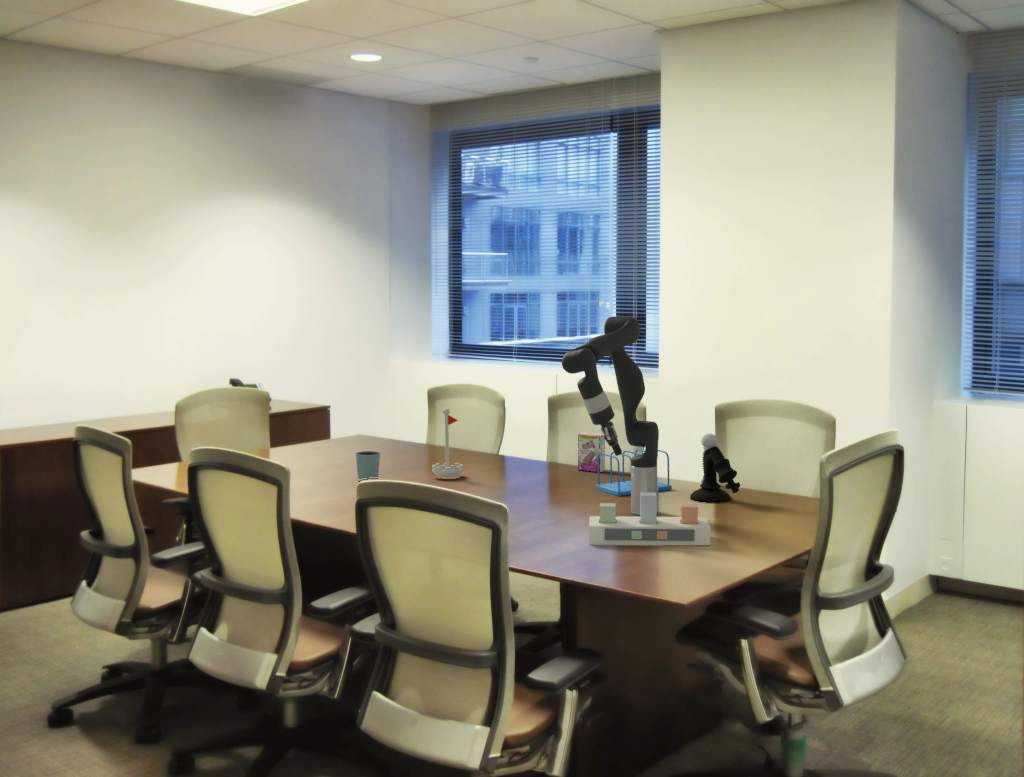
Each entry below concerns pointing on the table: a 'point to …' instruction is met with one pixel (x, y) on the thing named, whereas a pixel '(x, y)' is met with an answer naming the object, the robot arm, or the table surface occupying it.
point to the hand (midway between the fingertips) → (619, 454)
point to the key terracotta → (689, 514)
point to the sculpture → (714, 474)
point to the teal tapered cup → (367, 464)
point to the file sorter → (624, 486)
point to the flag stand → (447, 453)
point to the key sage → (607, 512)
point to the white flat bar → (648, 532)
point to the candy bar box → (591, 452)
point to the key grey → (648, 508)
